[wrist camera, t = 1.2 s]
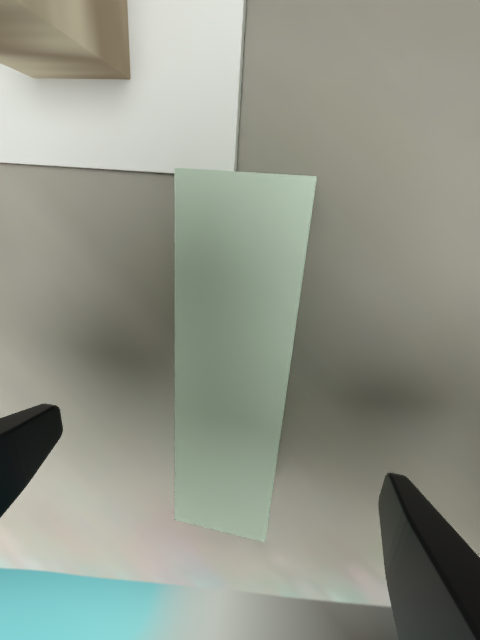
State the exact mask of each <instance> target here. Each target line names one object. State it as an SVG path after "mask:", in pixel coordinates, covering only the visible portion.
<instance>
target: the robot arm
mask: <svg viewBox="0 0 480 640" xmlns="http://www.w3.org/2000/svg"><path fill="white" fill-rule="evenodd" d="M62 431H63V427H62V420H61V414H60V409H59V407H58V406H56V405H51V404H41V405H38V406H35V407H32V408H29V409H26V410H23V411H20V412H17V413H14V414H11V415H9V416H6V417H3V418H0V518H1V516H2V515H3V514H4V513H5V512H6V510H7V509H8V508H9V507H10V506H11V504H12V503H13V502H14V501H15V499H16V498H17V497H18V496H19V495H20V493H21V492H22V491H23V490H24V488H25V487H26V486H27V484H28V483H29V482H30V480H31V479H32V478H33V476H34V475H35V473H36V472H37V470H38V469H39V468H40V466H41V465H42V463H43V462H44V460H45V459H46V457H47V456H48V455H49V453H50V452H51V450H52V449H53V447H54V446H55V445H56V443H57V442H58V440H59V439H60V437H61V435H62ZM379 516H380V526H381V536H382V546H383V556H384V565H385V574H386V580H387V586H388V591H389V596H390V601H391V606H392V611H393V616H394V621H395V625H396V631H397V636H398V640H480V558H479V556H478V555H477V554H476V553H475V552H474V551H473V550H472V549H471V548H470V546H469V545H468V544H467V543H466V542H465V541H464V540H463V539H462V538H461V536H460V535H459V534H458V533H457V532H456V531H455V530H454V529H453V528H452V527H451V525H450V524H449V523H448V522H447V521H446V520H445V519H444V518H443V517H442V515H441V514H440V513H439V512H438V511H437V510H436V509H435V508H434V507H433V505H432V504H431V503H430V502H429V501H428V500H427V499H426V498H425V497H424V495H423V494H422V493H421V492H420V491H419V490H418V489H417V488H416V487H415V485H414V484H413V483H412V482H411V481H410V480H409V479H408V478H407V477H406V476H404V475H399V474H394V473H387V475H386V476H385V479H384V483H383V486H382V490H381V493H380V496H379Z"/></svg>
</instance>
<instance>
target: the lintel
mask: <svg viewBox="0 0 480 640" xmlns="http://www.w3.org/2000/svg"><path fill="white" fill-rule="evenodd" d="M316 179H317V176H302V175H286V174H270V173H253V172H237V171H221V170H205V169H188V168H174V308H175V520H177V521H181V522H185V523H189V524H193V525H197V526H201V527H205V528H209V529H213V530H217V531H221V532H225V533H229V534H233V535H236V536H240V537H244V538H248V539H252V540H256V541H260V542H264V543H265V541H266V534H267V527H268V520H269V513H270V506H271V499H272V492H273V485H274V478H275V470H276V463H277V456H278V449H279V442H280V435H281V428H282V421H283V414H284V407H285V399H286V392H287V385H288V378H289V371H290V364H291V357H292V350H293V343H294V336H295V328H296V321H297V314H298V307H299V300H300V293H301V286H302V279H303V272H304V265H305V257H306V250H307V243H308V236H309V229H310V222H311V215H312V208H313V201H314V194H315V186H316Z"/></svg>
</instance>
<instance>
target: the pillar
mask: <svg viewBox="0 0 480 640" xmlns="http://www.w3.org/2000/svg"><path fill="white" fill-rule="evenodd" d="M0 63H1V64H3V65H5V66H8V67H10V68H12V69H14V70H16V71H19V72H21V73H23V74H25V75H28V76H30V77H32V78H57V79H131V76H130V53H129V29H128V6H127V0H0Z"/></svg>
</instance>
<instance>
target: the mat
mask: <svg viewBox="0 0 480 640" xmlns="http://www.w3.org/2000/svg"><path fill="white" fill-rule="evenodd" d="M127 6H128V29H129V53H130V76H131V79H57V78H32V77H30V76H28V75H25V74H23V73H21V72H19V71H16V70H14V69H12V68H10V67H8V66H5V65H3V64H1V63H0V163H10V164H26V165H42V166H58V167H74V168H90V169H106V170H122V171H138V172H154V173H170V174H174V168H188V169H205V170H221V171H236V170H237V153H238V136H239V119H240V101H241V84H242V67H243V50H244V33H245V16H246V0H127Z"/></svg>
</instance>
